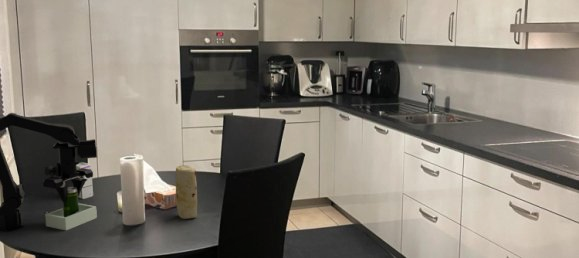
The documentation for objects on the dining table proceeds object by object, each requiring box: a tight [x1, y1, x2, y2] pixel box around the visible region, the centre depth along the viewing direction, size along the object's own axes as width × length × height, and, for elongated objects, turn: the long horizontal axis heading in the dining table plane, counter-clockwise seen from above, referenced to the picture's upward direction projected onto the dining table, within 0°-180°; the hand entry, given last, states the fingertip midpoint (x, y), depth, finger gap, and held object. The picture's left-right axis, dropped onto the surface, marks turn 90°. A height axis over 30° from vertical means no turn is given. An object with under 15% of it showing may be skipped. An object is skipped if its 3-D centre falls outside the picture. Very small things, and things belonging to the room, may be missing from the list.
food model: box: [175, 164, 198, 220], centre depth 212 cm, size 10×7×20 cm
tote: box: [44, 202, 98, 231], centre depth 207 cm, size 15×10×4 cm, turn 155°
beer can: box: [62, 186, 79, 217], centre depth 206 cm, size 5×5×12 cm
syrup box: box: [76, 161, 94, 200], centre depth 237 cm, size 6×6×14 cm
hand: (70, 200), depth 206 cm, fingers closed on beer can, 5 cm apart
